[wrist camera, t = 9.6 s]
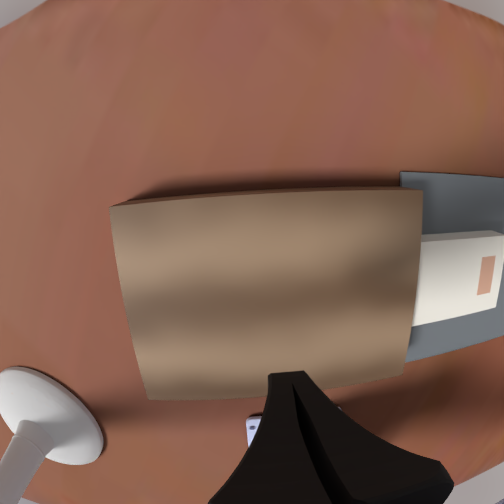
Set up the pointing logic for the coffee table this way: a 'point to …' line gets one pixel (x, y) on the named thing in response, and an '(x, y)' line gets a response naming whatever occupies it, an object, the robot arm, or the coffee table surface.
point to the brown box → (268, 286)
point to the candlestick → (42, 428)
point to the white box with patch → (458, 274)
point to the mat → (450, 221)
